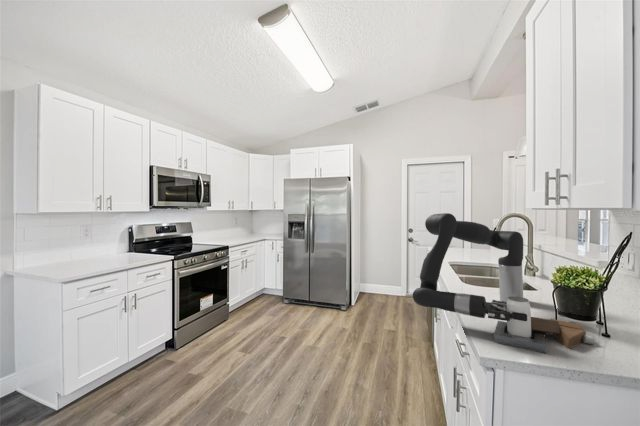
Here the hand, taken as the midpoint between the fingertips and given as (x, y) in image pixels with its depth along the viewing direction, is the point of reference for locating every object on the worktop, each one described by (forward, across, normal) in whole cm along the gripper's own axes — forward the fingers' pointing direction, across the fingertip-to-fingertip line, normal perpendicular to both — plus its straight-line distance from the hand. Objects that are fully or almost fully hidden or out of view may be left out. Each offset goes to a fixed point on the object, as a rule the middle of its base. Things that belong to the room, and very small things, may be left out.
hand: (527, 314), depth 88 cm
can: (-2, 0, +8) cm, 8 cm away
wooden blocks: (+7, +6, +9) cm, 13 cm away
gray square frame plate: (-2, 0, +9) cm, 9 cm away
